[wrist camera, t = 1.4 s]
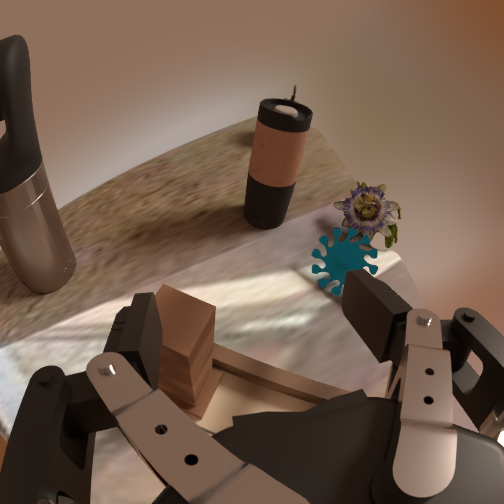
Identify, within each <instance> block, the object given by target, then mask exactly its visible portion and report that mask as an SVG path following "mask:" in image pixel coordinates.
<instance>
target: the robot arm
mask: <svg viewBox="0 0 504 504" xmlns="http://www.w3.org/2000/svg"><path fill="white" fill-rule="evenodd" d="M30 77H31V75H30V59H29V51H28V47H27V43H26V41H25V40H24V38H23V37H22V36H20V35H14V36H10V37H7V38H4V39H2V40H0V121H2V120H5V123H6V132H5V134H4V135H3V136H2V138H1V139H0V246H1V248H2V250H3V251H4V253H5V255H6V257H7V259H8V260H9V262H10V264H11V265H12V267H13V269H14V270H15V272H16V274H17V275H18V277H19V279H20V280H21V282H22V283H26V284H27V285H28V286H29V288H30V289H31V290H33V291H34V292H37V293H49V292H52V291H55V290H57V289H59V288H60V287H62V286H63V285H64V284H65V283H66V282H67V281H68V280H69V279H70V277H71V276H72V274H73V272H74V269H75V265H76V260H75V256H74V254H73V251H72V249H71V246H70V244H69V241H68V238H67V236H66V233H65V230H64V227H63V225H62V222H61V219H60V216H59V213H58V210H57V208H56V204H55V201H54V198H53V195H52V192H51V188H50V185H49V181H48V178H47V175H46V171H45V167H44V163H43V159H42V155H41V151H40V146H39V142H38V137H37V131H36V126H35V120H34V114H33V106H32V95H31V78H30ZM342 310H343V313H344V315H345V317H346V318H347V320H348V321H349V322H350V324H351V325H352V326H353V328H354V329H355V330H356V332H357V333H358V334H359V336H360V337H361V338H362V340H363V341H364V342H365V344H366V345H367V346H368V348H369V349H370V351H371V352H372V353H373V355H374V356H375V357H376V359H377V360H378V362H379V363H383V362H386V361H389V360H391V361H392V365H391V367H390V372H389V378H388V383H387V388H386V393H385V398H380V397H367V396H366V394H365V392H364V391H363V389H360V390H357V391H354V392H350V393H347V394H343V395H339V396H336V397H333V398H331V399H329V400H327V401H325V402H323V403H321V404H319V405H317V406H315V407H313V408H310V409H308V410H306V411H302V412H273V411H265V412H259V413H253V414H246V415H238V416H232V421H233V426H231V427H228V428H226V429H223V430H221V431H219V432H217V433H216V434H214V435H212V436H210V435H209V434H208V433H206V432H205V431H204V430H203V429H202V428H201V427H199V426H198V425H197V424H196V423H195V422H194V421H193V420H192V419H191V418H189V417H188V416H187V415H186V414H185V413H184V412H183V411H182V410H181V409H180V408H179V407H178V406H177V405H176V404H175V403H174V402H173V401H172V400H170V399H169V398H168V397H167V396H166V395H165V394H164V393H163V392H162V391H161V390H160V389H158V378H159V368H160V358H161V349H162V340H163V332H162V325H161V321H160V316H159V312H158V308H157V303H156V299H155V295H154V293H153V292H149V293H137V294H135V295H134V298H133V301H132V304H131V306H127V307H123V308H122V309H121V310H120V311H119V312H118V313H117V314H116V317H115V320H114V322H113V323H114V324H113V325H112V328H111V331H110V333H109V336H108V339H107V342H106V345H105V348H104V351H103V353H102V354H99V355H97V356H96V357H94V358H93V359H92V360H91V361H90V362H89V363H88V365H87V368H86V371H84V372H80V373H76V374H72V375H68V376H65V374H64V372H63V370H62V369H61V368H59V367H57V366H45V367H43V368H40V369H39V370H37V371H36V372H35V373H34V374H33V375H32V377H31V379H30V381H29V384H28V386H27V389H26V391H25V394H24V396H23V399H22V402H21V404H20V407H19V410H18V413H17V416H16V419H15V422H14V425H13V428H12V431H11V434H10V438H9V441H8V445H7V448H6V452H5V456H4V459H3V464H2V468H1V472H0V504H90V494H91V476H92V464H93V453H94V444H95V436H96V432H97V431H102V430H106V429H110V428H114V427H118V429H119V430H120V432H121V433H122V434H123V436H124V437H125V438H126V440H127V441H128V442H129V444H130V445H131V446H132V448H133V449H134V450H135V451H136V453H137V454H138V455H139V456H140V458H141V459H142V460H143V461H144V463H145V464H146V465H147V466H148V468H149V469H150V470H151V471H152V472H153V474H154V475H155V476H156V477H157V478H158V479H159V481H160V482H161V483H162V484H163V485H164V486H165V487H166V488H165V489H164V490H163V491H162V492H161V493H160V495H159V496H158V497H157V498H156V499H155V500H154V501H153V503H152V504H504V336H503V335H502V334H501V333H500V332H499V331H498V330H497V329H495V327H493V326H492V325H491V324H490V323H489V322H488V321H487V320H486V319H485V318H484V317H482V316H481V315H480V314H479V313H478V312H476V311H475V310H472V309H469V308H459V309H457V310H456V311H455V313H454V316H453V319H452V320H440V319H439V317H438V316H437V315H436V314H435V313H433V312H431V311H429V310H426V309H413V308H412V307H411V306H410V305H409V304H408V303H407V302H405V301H404V300H403V299H402V298H401V297H400V296H399V295H397V293H396V292H395V291H394V290H392V289H391V288H390V287H389V286H388V285H387V284H386V283H384V282H382V281H380V280H378V279H376V278H374V277H373V276H372V275H371V274H369V273H368V272H367V271H366V270H365V269H359V270H351V271H348V272H347V273H346V275H345V282H344V290H343V298H342ZM471 350H473V352H474V353H475V354H476V355H477V356H478V357H479V358H480V360H481V361H482V363H483V372H482V374H481V376H479V375H478V374H477V373H476V371H475V370H474V369H473V368H472V367H471V366H470V364H469V363H468V362H467V359H468V356H469V354H470V352H471ZM452 394H453V395H454V397H455V398H456V399H457V401H458V402H459V404H460V405H461V406H462V408H463V409H464V411H465V412H466V413H467V415H468V416H469V418H470V419H471V420H472V422H473V424H474V425H475V426H476V428H477V429H478V431H479V433H477V432H474V431H471V430H469V429H466V428H463V427H460V426H458V425H455V424H453V423H452V418H453V416H452V413H453V400H452V399H453V397H452Z"/></svg>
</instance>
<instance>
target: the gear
mask: <svg viewBox="0 0 504 504" xmlns="http://www.w3.org/2000/svg"><path fill="white" fill-rule="evenodd" d="M333 234H334V236H335V242H334V245H333V246H332V247H328V241H329V239H328V237H327V236H326V235H325V236H322V237H321V238H319V241H320V243H321V244H323V245H324V246H325V248H326V251H327V255H326V256H325V257H322V256H321V253H320V251H319V250H318V249H316V248H315V249H314V250H313V252H312V254H311V255H312V256H313V257H314V258H319V259H321V260H323V261H324V262H325V264H326V266H325V268H323V269H321V268H320V267H319V266H318V265H316V264H314V265H312V273H314V274H317V273H319V272H327V273H329V274H330V278H329V279H328V280H326V279H319V280H318V282H319V285H320V286H321V288H324V287H326V286H327V284H328V283H329V282H331V281H333V280H339V281H340V284H339V286H337V287H334V288H332V290H331V292H332V293H333V294H334V295H336V296H338V295H340V292H341V288H342V286H343V284H344V282H345V275H346V273H347V272H348V271H351V270H359V269H363V267H365V266H367V267H369V270H370V273H371V274H373V275H375V274H376V272H377V270H378V266H376V265H371V264H369V263H367V262H366V261H365V260H364V256H365V255H366V254H368V255H370V256H371V257H372V258H374V259H375V258H377V249H372V250H369V251H364V250H361V249H359V245H360V244H366V245H368V244H369V243H370V238H369V237H368V235H364V236H363V237H362V239H361V240H360V241H358V242H355V243H351V242H350V241H349V240H350V238H351V237H355V236H356V235H357V230H356V229H354V228H352V227H350V228H349V231H348V236H347V238H346V239H345V240H344V241H343V242H339V241H338V238H339V237H340V236H341V234H342V230H341V229H339V228H335V229H333Z"/></svg>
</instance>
